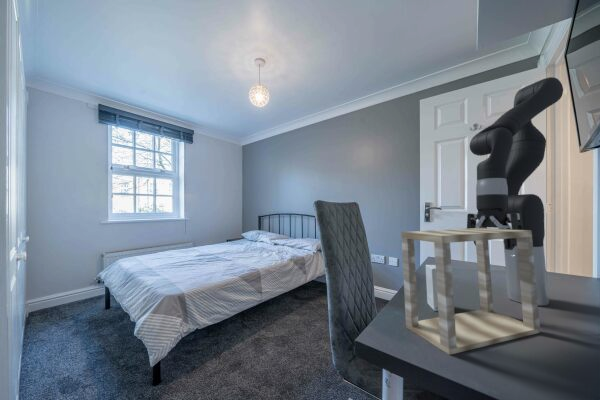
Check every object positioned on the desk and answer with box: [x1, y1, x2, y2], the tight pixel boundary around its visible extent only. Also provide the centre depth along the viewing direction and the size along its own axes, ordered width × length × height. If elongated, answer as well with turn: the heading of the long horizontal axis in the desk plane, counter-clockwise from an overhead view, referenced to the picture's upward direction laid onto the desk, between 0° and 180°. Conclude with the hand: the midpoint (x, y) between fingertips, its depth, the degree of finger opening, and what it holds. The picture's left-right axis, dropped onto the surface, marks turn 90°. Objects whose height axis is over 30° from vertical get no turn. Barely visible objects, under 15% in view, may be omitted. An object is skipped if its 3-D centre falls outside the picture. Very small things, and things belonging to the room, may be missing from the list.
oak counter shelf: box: [400, 227, 541, 356], centre depth 57 cm, size 27×12×24 cm, turn 106°
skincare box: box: [425, 264, 438, 312], centre depth 70 cm, size 6×4×12 cm
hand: (492, 247), depth 70 cm, fingers open, 8 cm apart
